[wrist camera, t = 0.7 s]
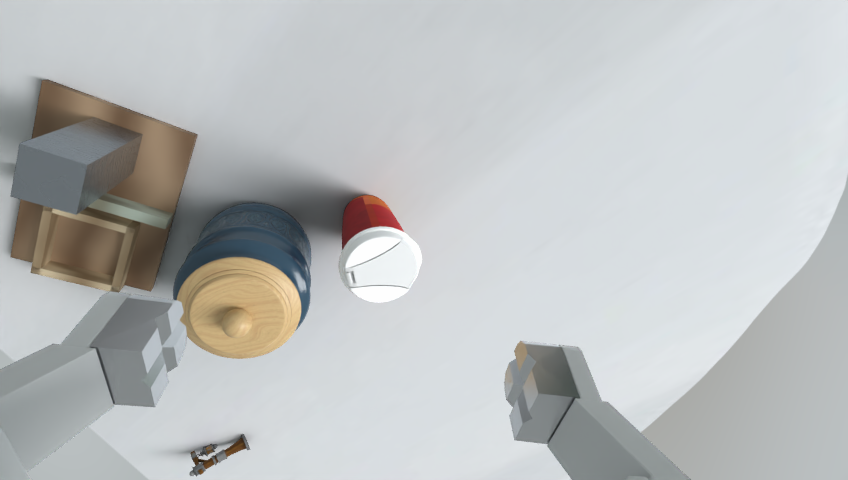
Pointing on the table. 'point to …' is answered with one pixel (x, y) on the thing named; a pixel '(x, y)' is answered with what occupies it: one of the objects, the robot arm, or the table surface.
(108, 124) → the bar
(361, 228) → the coffee cup
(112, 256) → the door board
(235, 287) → the canister
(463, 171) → the table surface
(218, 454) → the wooden post with brackets
